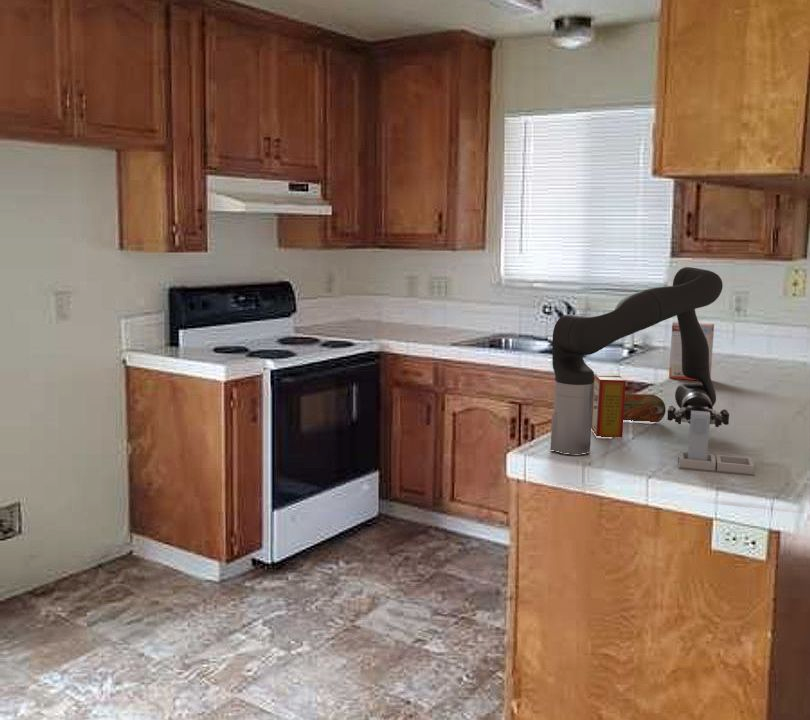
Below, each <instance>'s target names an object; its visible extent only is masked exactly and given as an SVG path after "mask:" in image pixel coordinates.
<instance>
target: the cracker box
mask: <svg viewBox="0 0 810 720" xmlns="http://www.w3.org/2000/svg"><path fill="white" fill-rule="evenodd" d="M699 324H700V326H701V329H702V331H703V333H704V335H705V337H706V339H707V342H708V347H709V372H710V377H711V378H712V376H711V375H712V365H713V364H712V363H713V362H712V361H713V346H714V333H715V331H714V330H715V324H714V323H706V322H704V323H701V322H699ZM671 325H672V326H671V339H670V351H669V353H670V354H669V355H670V357H669V370H668V371H669V372H668V378H669V379H675V380H676V379H677V380H689V381H695V380H696V379H692V378H688V377H686V376H684V375H683V373H682V345H681V335H680V329H679V324H678V321H675V322H672V324H671ZM696 382H700V381H699V380H697V381H696Z"/></svg>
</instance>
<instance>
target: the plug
mask: <svg viewBox="0 0 810 720" xmlns="http://www.w3.org/2000/svg"><path fill="white" fill-rule="evenodd" d="M710 425H711V424H710V412H704V411H691V419H690V424H689V435H688V447H687V450H688V451H687V452H688V459H691V460H702V461H707V454H708V453H709V451H708V450H709V448H708V447H709V439H710V438H709V437H710Z"/></svg>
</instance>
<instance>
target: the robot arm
mask: <svg viewBox="0 0 810 720" xmlns="http://www.w3.org/2000/svg"><path fill="white" fill-rule="evenodd" d="M722 292H723V281H722V278H721V277H720V275H719V274H717V273H716V272H714V271H711V270H708V269H703V268H697V267H691V266H684V267H682V268H680V269H678V271H677V272H676V273H675V275H674V278H673V280H672V285H671V286H658V287H656V286H655V287H650V288H646V289H645V288H644V289H642V290H639V291H637V292H634V293H631V294H629V295H626V296H625V297H624V298H622V299H621V300H620V301H619V302H618V304H617V305H616V306H615V309H613V310H611V311H609V312H607V313H603V314H600V315H595V316H586V315H579V314H564V315H562V316H561V317H559V318H558V319H557V321H556V322H555V324H554V327H553V331H552V338H551V339H552V343H551V344H552V347H551V348H552V350H551V351H552V359H551V360H552V362H551V363H552V364H551V365H552V370H553V372H554V376H555V377H554V393H553V396H554V397H553V412H552V414H551V429H550V430H551V432H550V450H554V451H559V452H562V453H569V454H582V453H587V452H589V451H590V452H591V446H592V445H591V439H592V431H591V426H592V409H593V391H594V374H595V372H594V371H593V369H592V368H591V367H590V366H588V365H587V363H586V362H585V361H584V356H590V355H593V354H595V353H597V352H599V351H601V350H603V349H604V348H606V347H608V346H609V345H611V344H613V343H614V342H616V341H618V340H620V339H623V338H626V337H628V336H630V335H632V334H636V333H637V332H640V331H643V330H646V329H648V328H651V327H653V326H655V325H657V324H659V323H661V322H664V321H666V320H669V319H671V318H673V317H676V318H677V322H678V324H679V329H680V335H681V345H682V373H683V375H684V376H686V377H688V378H692V379H696V380H699V381H698V382H697V383H696V382H693V383H692V382H691V383H689V382H687V383H686V382H684V383H681V384H679V385H678V386H677V388H676V390H675V392H674V399H675V402H676V405H677V407H678V408H679V409H677V408H676V407H675V406H673V405H669V406H668V409H667V417H666V418H667V419H666V420H667V421H670V422H671V421H673V420H674V422H675V423H677V424H678V425H681V424H682V423H687V424H689V425H690V419H691V411H704V412H710V425H714V426H715V428H719V426H722V425H725V426H728V425H730V413H729V411H728V410H726V409H722V410H720V411H719V412H717V410H715V409H714V408H713V407H714V405H716V402H717V393H716V391H715V390H716V389H715V388H714V385H713V384H714V383H713V382H712V376H711V377H710V372H709V347H708V342H707V339H706V337H705V335H704V333H703V331H702V329H701V326H700V324H699V323H700V322H699V319H698V317H697V313H696V309H700V308H704V307H707V306H710V305H712V304H713V303H714V302H715V301H716V300H718V298H719V297H720V295H721V293H722ZM699 382H700V383H699ZM550 450H549V451H550Z"/></svg>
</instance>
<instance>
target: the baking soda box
mask: <svg viewBox="0 0 810 720" xmlns="http://www.w3.org/2000/svg"><path fill="white" fill-rule="evenodd" d="M626 382H627V381H626V379H625V378H623V376H622V375H621V374H619V373H616V374H615V373H594V390H593V408H592V426H591V428H592V430H593V431H594V433H595V434H596V436H601V437H613V438H615V437H622V438H623V432H624V431H623V430H624V423H623V417H624V401H625V393H626Z"/></svg>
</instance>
